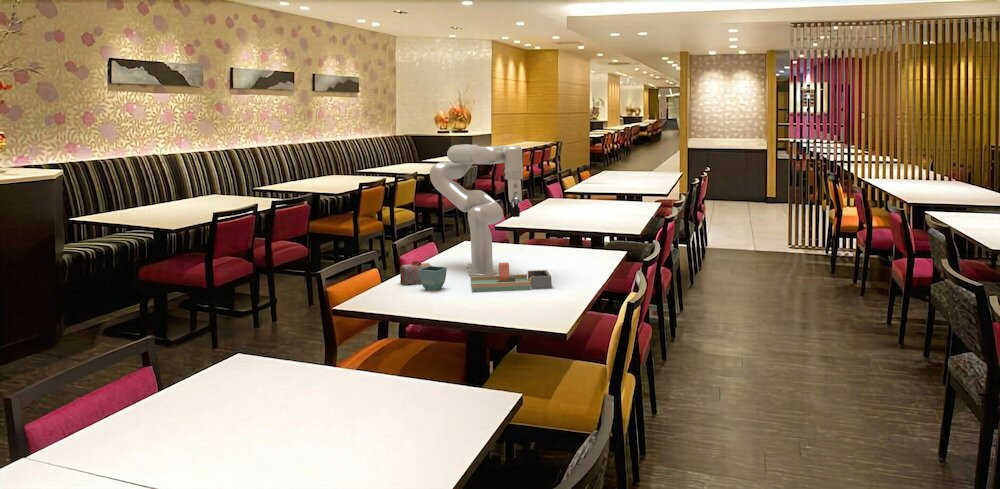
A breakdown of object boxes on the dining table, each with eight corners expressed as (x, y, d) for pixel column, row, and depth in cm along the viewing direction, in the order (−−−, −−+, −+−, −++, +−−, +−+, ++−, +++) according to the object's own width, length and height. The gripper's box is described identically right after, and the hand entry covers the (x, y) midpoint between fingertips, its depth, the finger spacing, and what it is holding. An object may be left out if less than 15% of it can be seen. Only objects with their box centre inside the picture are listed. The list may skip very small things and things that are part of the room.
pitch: (472, 292, 309) (472, 284, 308) (470, 284, 324) (470, 276, 323) (530, 289, 311) (530, 281, 310) (526, 281, 325) (526, 274, 325)
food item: (428, 279, 336) (427, 257, 334) (435, 283, 328) (434, 260, 327) (399, 283, 330) (398, 261, 328) (405, 286, 323) (403, 264, 321)
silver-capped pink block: (497, 283, 314) (497, 264, 313) (496, 281, 319) (496, 262, 317) (515, 283, 315) (514, 264, 314) (514, 280, 319) (513, 262, 318)
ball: (526, 285, 318) (526, 276, 317) (532, 284, 321) (532, 274, 320) (534, 286, 315) (534, 277, 315) (540, 285, 319) (539, 275, 318)
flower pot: (448, 287, 318) (447, 266, 317) (437, 292, 310) (436, 271, 309) (429, 286, 322) (429, 265, 320) (419, 290, 314) (418, 269, 313)
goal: (531, 289, 311) (531, 277, 311) (528, 282, 325) (527, 270, 324) (551, 288, 312) (551, 276, 311) (546, 281, 325) (546, 269, 324)
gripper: (524, 176, 314) (525, 217, 317) (520, 173, 331) (521, 212, 334) (506, 177, 314) (508, 218, 317) (503, 174, 331) (504, 213, 334)
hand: (514, 215), depth 325 cm, fingers open, 9 cm apart
